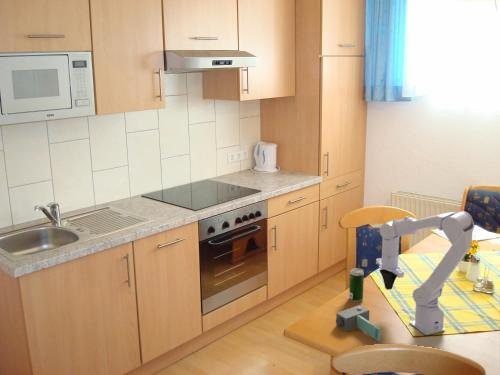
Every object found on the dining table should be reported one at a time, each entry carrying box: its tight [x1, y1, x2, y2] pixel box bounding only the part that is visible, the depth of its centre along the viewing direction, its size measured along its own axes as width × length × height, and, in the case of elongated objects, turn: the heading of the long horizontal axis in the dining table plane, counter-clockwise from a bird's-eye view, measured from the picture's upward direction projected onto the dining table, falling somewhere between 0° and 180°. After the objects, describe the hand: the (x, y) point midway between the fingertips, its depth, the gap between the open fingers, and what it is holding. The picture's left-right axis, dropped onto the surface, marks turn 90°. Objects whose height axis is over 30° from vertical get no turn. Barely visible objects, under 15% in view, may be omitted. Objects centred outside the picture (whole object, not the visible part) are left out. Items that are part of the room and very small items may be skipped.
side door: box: [357, 315, 382, 342], centre depth 184 cm, size 12×1×4 cm, turn 28°
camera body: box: [335, 304, 370, 332], centre depth 191 cm, size 12×5×6 cm, turn 122°
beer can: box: [348, 267, 365, 303], centre depth 210 cm, size 5×5×12 cm
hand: (388, 288), depth 198 cm, fingers closed
